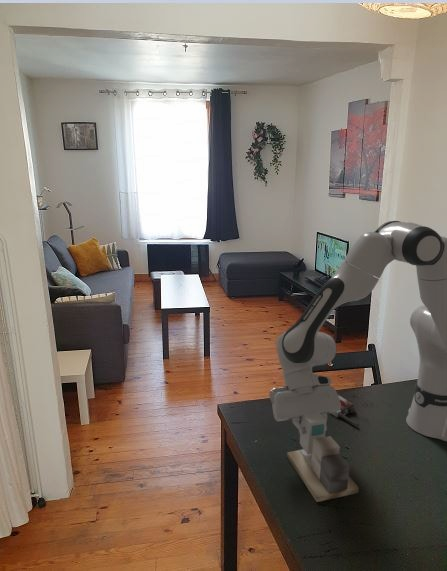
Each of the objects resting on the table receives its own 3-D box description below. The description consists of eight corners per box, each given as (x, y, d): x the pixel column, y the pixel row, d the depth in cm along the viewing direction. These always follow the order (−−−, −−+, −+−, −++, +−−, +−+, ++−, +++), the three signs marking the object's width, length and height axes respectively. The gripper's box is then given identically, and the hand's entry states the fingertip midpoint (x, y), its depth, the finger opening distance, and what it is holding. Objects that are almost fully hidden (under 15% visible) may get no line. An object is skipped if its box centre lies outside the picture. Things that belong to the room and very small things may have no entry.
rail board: (323, 449, 126) (326, 417, 123) (358, 492, 109) (362, 456, 106) (286, 456, 122) (288, 424, 120) (316, 502, 106) (319, 465, 103)
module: (315, 440, 123) (317, 410, 120) (324, 451, 118) (326, 420, 115) (299, 443, 122) (301, 413, 119) (307, 454, 117) (310, 423, 114)
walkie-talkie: (310, 403, 152) (356, 430, 136) (311, 392, 151) (357, 418, 135) (327, 395, 157) (372, 421, 141) (327, 385, 155) (374, 409, 140)
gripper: (271, 385, 119) (283, 435, 113) (335, 377, 124) (350, 424, 118) (264, 391, 124) (276, 440, 118) (326, 383, 130) (340, 429, 123)
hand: (313, 432), depth 118 cm, fingers closed on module, 5 cm apart
